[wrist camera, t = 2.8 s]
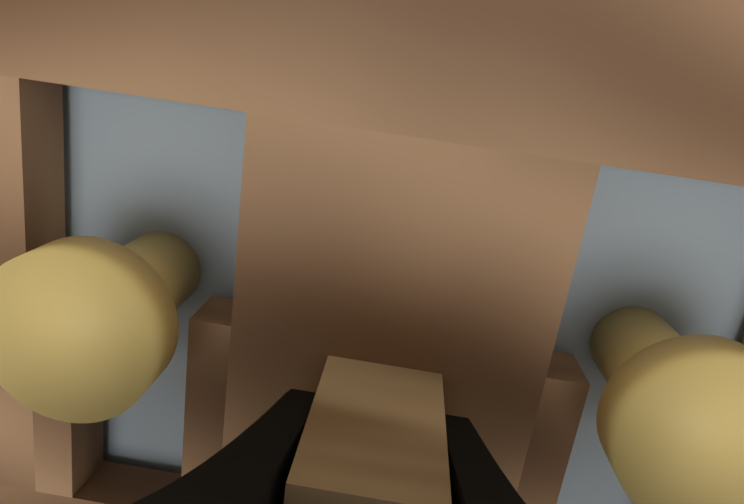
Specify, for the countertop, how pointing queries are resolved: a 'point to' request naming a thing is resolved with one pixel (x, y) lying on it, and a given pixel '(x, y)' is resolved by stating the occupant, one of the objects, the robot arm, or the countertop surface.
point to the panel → (374, 214)
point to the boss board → (216, 278)
